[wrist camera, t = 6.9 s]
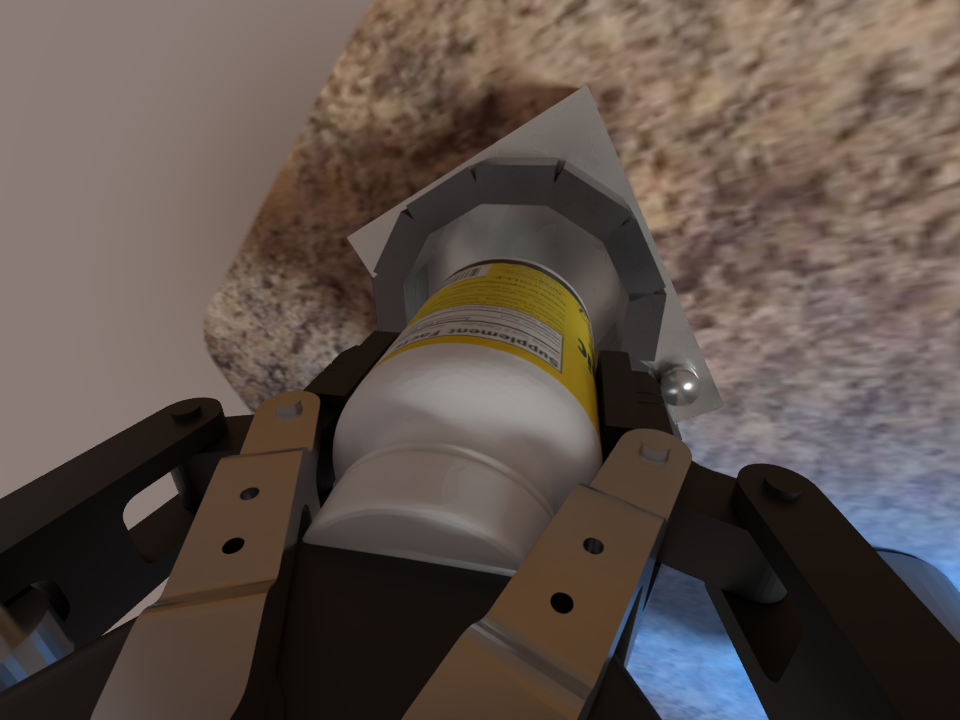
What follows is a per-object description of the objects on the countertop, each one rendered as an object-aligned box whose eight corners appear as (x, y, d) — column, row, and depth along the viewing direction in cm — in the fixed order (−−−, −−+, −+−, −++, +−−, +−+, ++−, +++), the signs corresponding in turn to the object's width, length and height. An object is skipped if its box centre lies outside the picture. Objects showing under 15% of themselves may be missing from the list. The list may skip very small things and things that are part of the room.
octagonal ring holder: (708, 373, 23) (745, 449, 18) (511, 442, 27) (494, 520, 22) (586, 89, 18) (588, 77, 13) (373, 223, 23) (311, 255, 17)
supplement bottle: (564, 422, 16) (544, 757, 8) (416, 378, 17) (245, 653, 8) (620, 279, 14) (683, 548, 5) (444, 230, 14) (231, 408, 6)
